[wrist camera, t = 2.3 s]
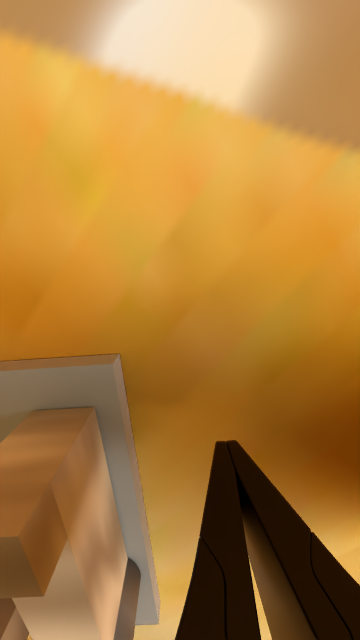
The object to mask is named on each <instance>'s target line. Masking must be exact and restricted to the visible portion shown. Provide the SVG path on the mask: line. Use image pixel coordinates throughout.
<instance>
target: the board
mask: <svg viewBox="0 0 360 640" xmlns="http://www.w3.org/2000/svg"><path fill="white" fill-rule="evenodd" d="M86 407H95V411H96V416H97V420H98V425H99V429H100V434H101V439H102V443H103V448H104V452H105V457H106V461H107V466H108V471H109V475H110V480H111V484H112V489H113V494H114V498H115V503H116V507H117V512H118V516H119V521H120V526H121V530H122V535H123V539H124V544H125V549H126V553H127V558H128V559H129V560H131V561H132V562H134V563H135V564H136V565H137V566H138V568H139V570H140V572H141V580H140V588H139V596H138V604H137V612H136V621H135V625H155V624H159V612H160V597H159V591H158V585H157V579H156V573H155V567H154V561H153V555H152V548H151V542H150V536H149V530H148V524H147V518H146V512H145V506H144V500H143V494H142V488H141V482H140V476H139V469H138V463H137V457H136V451H135V445H134V439H133V433H132V427H131V421H130V415H129V409H128V403H127V397H126V390H125V384H124V378H123V372H122V366H121V360H120V354H107V355H92V356H77V357H61V358H46V359H30V360H15V361H0V443H1V442H2V441H3V440H4V439H5V438H6V437H7V436H8V435H9V434H10V433H11V432H12V431H13V430H14V429H15V428H16V427H17V426H18V425H19V424H20V423H21V422H22V421H23V420H24V419H25V418H26V417H27V416H28V415H29V414H30V413H31V412H32V411H37V410H53V409H70V408H86Z"/></svg>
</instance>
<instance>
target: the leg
mask: <svg viewBox="0 0 360 640" xmlns="http://www.w3.org/2000/svg"><path fill="white" fill-rule="evenodd" d="M140 580H141V572H140V570H139V568H138V566H137V565H136V564H135V563H134V562H132V561H131V560H129V559H128V558H127V553H126V549H125V544H124V539H123V535H122V530H121V526H120V521H119V516H118V512H117V507H116V503H115V498H114V494H113V489H112V484H111V480H110V475H109V471H108V466H107V461H106V457H105V452H104V448H103V443H102V439H101V434H100V429H99V425H98V420H97V416H96V411H95V407H86V408H70V409H53V410H37V411H32V412H31V413H30V414H29V415H28V416H27V417H26V418H25V419H24V420H23V421H22V422H21V423H20V424H19V425H18V426H17V427H16V428H15V429H14V430H13V431H12V432H11V433H10V434H9V435H8V436H7V437H6V438H5V439H4V440H3V441H2V442H1V443H0V599H1V598H12V600H13V602H14V604H15V606H16V608H17V610H18V612H19V614H20V616H21V618H22V620H23V622H24V624H25V625H26V627H27V629H28V631H29V633H30V635H31V637H32V639H33V640H133V637H134V629H135V621H136V612H137V604H138V596H139V588H140Z"/></svg>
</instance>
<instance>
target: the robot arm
mask: <svg viewBox="0 0 360 640" xmlns="http://www.w3.org/2000/svg"><path fill="white" fill-rule="evenodd" d="M248 555H249V557H248ZM249 559H250V563H251V566H252V570H253V573H254V577H255V580H256V584H257V587H258V591H259V594H260V598H261V601H262V605H263V609H264V612H265V616H266V619H267V623H268V626H269V630H270V633H271V637H272V640H360V585H359V584H358V583H357V582H356V581H355V580H354V579H353V578H352V577H351V576H350V574H349V573H348V572H347V571H346V570H345V569H344V568H343V567H342V566H341V564H340V563H339V562H338V561H337V560H336V559H335V558H334V556H333V555H332V554H331V553H330V552H329V551H328V549H327V548H326V547H325V546H324V545H323V544H322V542H321V541H320V540H319V539H318V538H317V536H316V535H315V534H314V533H313V532H311V530H310V528H309V527H308V526H307V524H306V523H305V522H304V521H303V520H302V519H301V517H300V516H299V515H298V514H297V513H296V511H295V510H294V509H293V508H292V507H291V505H290V504H289V503H288V502H287V501H286V499H285V498H284V497H283V496H282V495H281V493H280V492H279V491H278V490H277V489H276V487H275V486H274V485H273V484H272V483H271V481H270V480H269V479H268V478H267V477H266V475H265V474H264V473H263V472H262V471H261V469H260V468H259V467H258V466H257V465H256V463H255V462H254V461H253V460H252V459H251V457H250V456H249V455H248V454H247V453H246V452H245V450H244V449H243V448H242V447H241V446H240V444H239V443H238V442H237V441H236V440H230V441H226V442H225V441H217V442H216V443H215V449H214V455H213V461H212V466H211V472H210V478H209V484H208V490H207V495H206V501H205V507H204V513H203V518H202V524H201V530H200V538H199V541H198V547H197V552H196V558H195V563H194V567H193V572H192V577H191V581H190V585H189V589H188V593H187V597H186V601H185V605H184V609H183V612H182V616H181V619H180V623H179V627H178V630H177V634H176V637H175V640H261V635H260V629H259V622H258V616H257V609H256V603H255V596H254V590H253V583H252V577H251V570H250V564H249Z"/></svg>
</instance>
